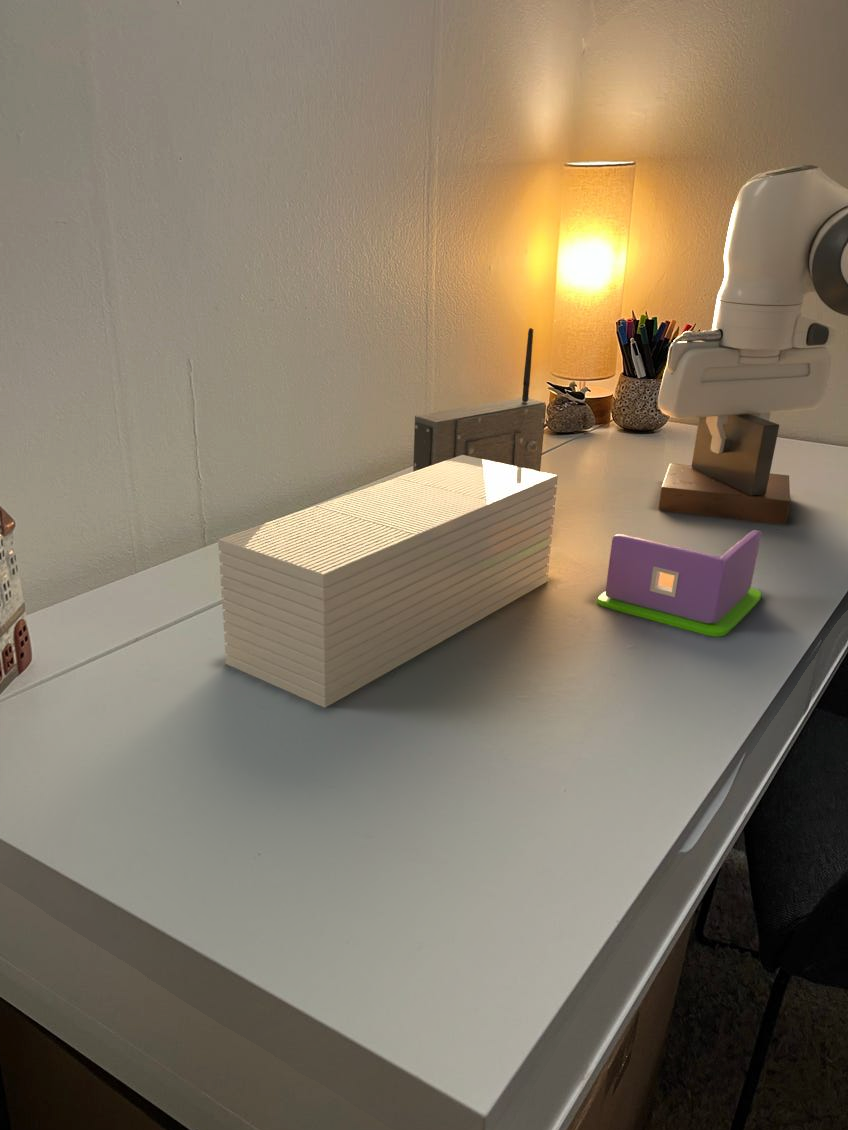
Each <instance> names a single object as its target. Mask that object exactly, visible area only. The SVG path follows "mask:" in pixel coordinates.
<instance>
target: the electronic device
mask: <svg viewBox="0 0 848 1130" xmlns="http://www.w3.org/2000/svg"><path fill="white" fill-rule="evenodd" d="M533 341H534V329H533V328H532V327H530V328H529V329H528V331H527V342H526V353H525V360H524V361H525V362H524V370H523V371H524V372H523V380H522V381H523V383H522V384H523V385H522V386H523V387H522V395H521V397H515V398H509V399H504V400H498V401H493V402H486V403H481V404H475V405H470V406H464V407H459V408H451V409H446V410H441V411H440V410H439V411H435V412H429V413H424V414H418V415H417V414H416V415H415V416H414V433H413V434H414V435H413V463H412V472H415V471H417V470H420V469H423V468H426V467H429V466H432V465H435V464H438V463H440V462H443V461H446V460H449V459H452V458H455V457H458V456H461V455H465V456H470V457H475V458H479V459H484V460H489V461H493V462H498V463H502V464H507V465H512V466H516V467H521V468H526V469H530V470H535V471H539V472H541V467H542V457H543V456H542V455H543V448H544V447H543V446H544V435H545V424H546V415H547V414H546V413H547V404H546V402H545V401H541V400H537V399H533V398H529V397H530V395H529V394H530V385H531V384H530V383H531V371H532V356H533V343H534V342H533Z"/></svg>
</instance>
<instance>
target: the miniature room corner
mask: <svg viewBox="0 0 848 1130" xmlns="http://www.w3.org/2000/svg"><path fill="white" fill-rule="evenodd" d="M761 537H762V531H760V530H756V529H753V530H752V531H750V532H749V533H747V534H746V535H745V536H744V537H742V539H740V540H739V541H738V542H737V543H735V544H734V545H733V546H731V547H730V548H729V549H728V550H727V551H726V552H725V553H724V554H723V555H722V556H718V555H715V554H710V553H707V552H702V551H698V550H694V549H689V548H686V547H685V548H684V547H679V546H675V545H671V544H666V543H662V542H658V541H653V540H649V539H644V538H640V537H636V536H631V535H626V534H623V533H622V534H621V533H618V534H617V533H616V534H615V535H614V536H613V537H612V539H611V544H610V545H611V546H610V554H609V562H608V568H607V569H608V570H607V575H606V576H607V577H606V583H605V584H606V585H605V591H603V592H602V593H601V594H600V595H598V597H597V601H596V603H597V605H599V606H601V607H604V608H607V609H610V610H614V611H618V612H621V613H625V614H629V615H632V616H635V617H640V618H643V619H646V620H650V621H652V622H653V621H654V622H657V623H661V624H663V625H664V624H665V625H669V626H672V627H676V628H679V629H683V630H687V631H691V632H695V633H698V634H702V635H706V636H710V637H723V636H725V635H727V634H728V633H730V631H731V630H733V628H734V627H736V626H737V624H738V623H740V622H741V620H743V619H744V617H746V616H747V614H749V612H751V610H752V609H753V608H754V607H756V605H757V604H758V603H759V601H760V600H761V599H762V592H761V590H758V589H755V588H752V587H751V586H752V581H753V577H754V573H755V569H756V568H755V567H756V562H757V558H758V552H759V549H760V548H759V547H760V542H761Z"/></svg>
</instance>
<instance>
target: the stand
mask: <svg viewBox="0 0 848 1130" xmlns="http://www.w3.org/2000/svg"><path fill="white" fill-rule="evenodd" d="M691 466H692V464H681V463H674V462H673V463H672V462H670V463H669V466H668V468H667V471H666V473H665V477H664V479H663V482H662V485H661V488H660V495H659V500H658V501H659V502H658V507H657V509H658V510H659V511H666V512H676V513H684V514H692V515H703V516H710V517H717V518H718V517H719V518H726V519H734V520H742V521H752V522H759V523H760V522H761V523H770V524H778V525H786V523H787V519H788V514H789V511H790V504H791V489H790V488H791V485H790V475H788V474H780V473H771V472H770V475H769V480H768V485H767V490H766V494H764V495H753V496H751V495H749V494H746V493H744V492H742V491H740V490H738V489H736V488H734V487H732V486H730V485H727V484H725V483H723V482H721V481H719V480H717V479H715V478H713V477H711V476H709V475H706V474H704V473H702V472H700V471H698V470H696V469H694V468H692V467H691Z"/></svg>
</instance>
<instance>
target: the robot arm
mask: <svg viewBox="0 0 848 1130" xmlns="http://www.w3.org/2000/svg"><path fill="white" fill-rule="evenodd" d="M723 264H724V276H723V277H724V278H723V281H722V284H721V286H720V289H719V291H718V293H717V297H716V302H715V308H714V315H713V322H712V326H711V327H712V328H711V329H708V330H707V329H706V330H702V331H701V330H700V331H696V330H688V331H687V330H686V331H684V332H683V333H682V334H681V335H679V336H677V337H676V338H675V339H674V340H673V342H671V343H670V345H669V348H668V353H667V361H666V366H665V369H664V372H663V375H662V379H661V383H660V387H659V391H658V397H657V407H658V408H659V411H660V412H661V413H662V414H663V415H666V416H667V417H671V418H673V419H678V420H679V419H694V418H699V417H707V418H706V423H707V425H708V428H709V430H710V433H711V435H712V441H711V451H712V452H715V453H728V452H729V451H730V445H731V442H732V438H730V437H726V435H725V432H724V428H723V425H726V424H727V422H728V417H729V415H739V414H751V415H754V416H756V417H759V418H762V419H765V420H768V421H770V420H771V419H770V418H771V414H772V413H781V412H783V413H784V412H797V411H798V412H799V411H809V410H810V411H811V410H816V409H817V408H818V407H819V406H820V405H821V403H822V402H823V401H824V399H825V397H826V393H827V389H828V384H829V380H830V379H829V378H830V373H831V368H832V367H831V366H832V354H831V351H830V350H829V348H828V347H830V346H832V345H833V344H834V342H835V339H836V335H837V329H836V327H835V326H834V325H831V324H829V323H826V322H823V321H821V320H817V319H815V318H812V317H811V316H808V315H805V314H802V307H803V302H804V298H805V296H806V295H807V294H809V293H816V295H817V296H818V297H819V299H820V301H822V303H823V304H824V305H825V306H826V307H827V308H829V309H830V310H831V311H833V312H835V313H837V314H840V315H842V316H845V317H848V188H847V187H844V186H843V185H841V184H840V183H838V182H836V181H835V180H834V179H832V178H831V177H830V176H828V175H827V174H826V173H825V172H824V171H823V170H822V168H821V167H819V166H818V165H814V164H801V165H794V166H789V167H783V168H778V169H772V170H768V171H763V172H759V173H758V174H756V175H754V176H752V177H750V178H749V179H748V180H747V181H746V183H744V184H743V185H742V186H741V188H740V190H739V192H738V194H737V196H736V200H735V202H734V205H733V208H732V213H731V216H730V221H729V226H728V230H727V236H726V241H725V246H724V253H723Z"/></svg>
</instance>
